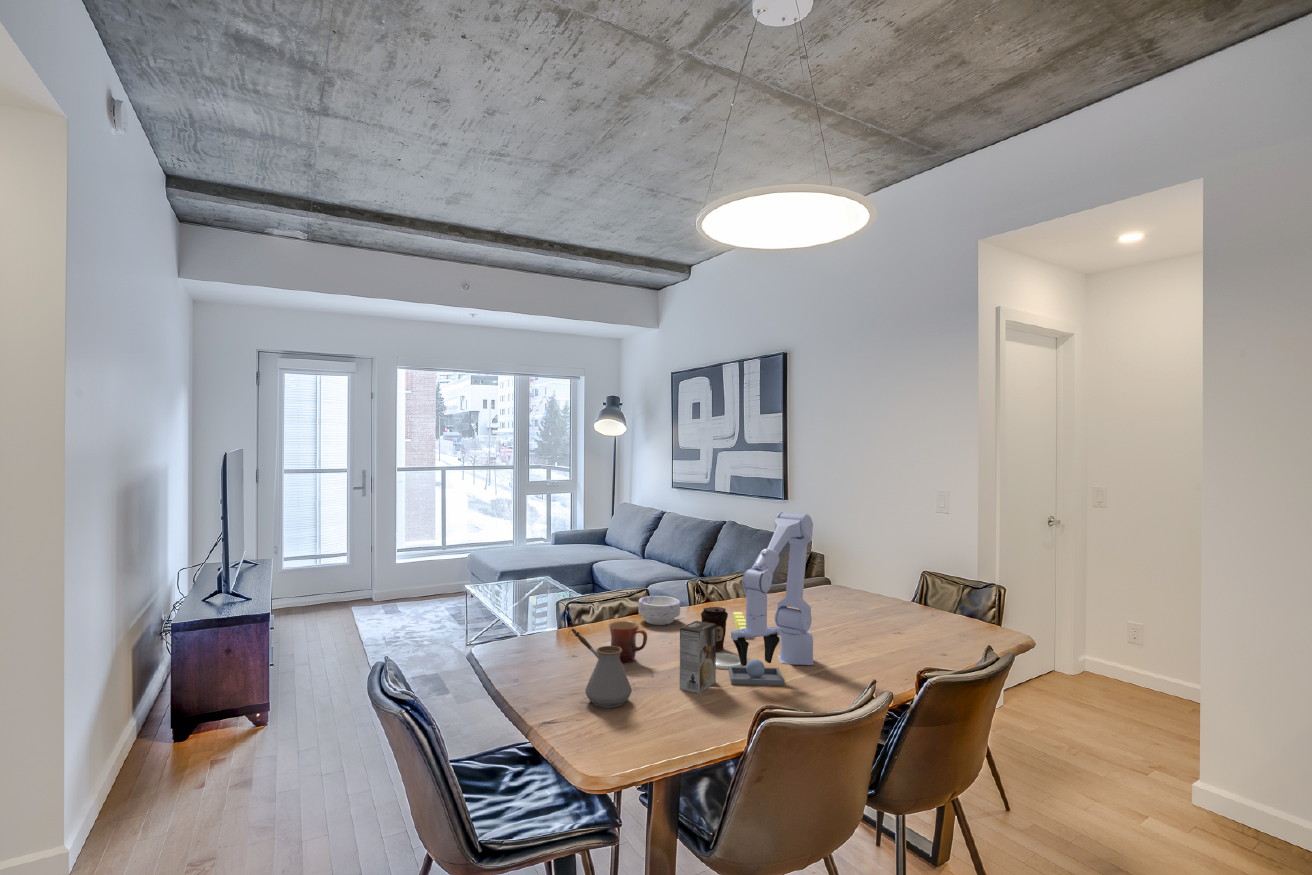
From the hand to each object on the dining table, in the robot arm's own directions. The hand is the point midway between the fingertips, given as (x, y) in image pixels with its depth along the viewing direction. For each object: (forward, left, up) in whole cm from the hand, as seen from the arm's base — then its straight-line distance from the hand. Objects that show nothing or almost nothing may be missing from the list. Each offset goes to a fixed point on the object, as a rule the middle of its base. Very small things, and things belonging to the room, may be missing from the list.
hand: (755, 663), depth 178 cm
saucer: (+8, -13, -4) cm, 16 cm away
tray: (0, 0, -4) cm, 4 cm away
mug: (+36, -13, -5) cm, 39 cm away
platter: (-3, -52, -5) cm, 52 cm away
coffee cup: (+10, -25, -5) cm, 27 cm away
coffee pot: (+42, +15, -5) cm, 45 cm away
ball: (0, 0, -4) cm, 4 cm away
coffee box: (+16, +6, -5) cm, 18 cm away
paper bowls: (+28, -57, -5) cm, 64 cm away
